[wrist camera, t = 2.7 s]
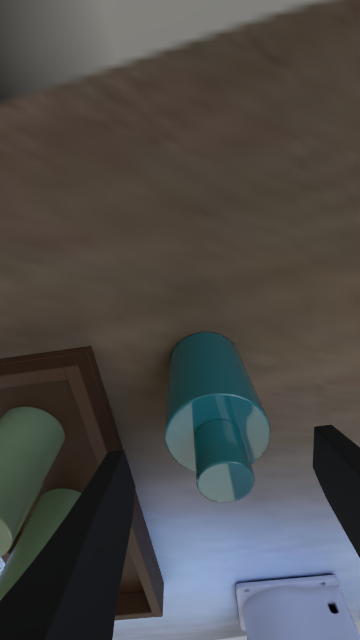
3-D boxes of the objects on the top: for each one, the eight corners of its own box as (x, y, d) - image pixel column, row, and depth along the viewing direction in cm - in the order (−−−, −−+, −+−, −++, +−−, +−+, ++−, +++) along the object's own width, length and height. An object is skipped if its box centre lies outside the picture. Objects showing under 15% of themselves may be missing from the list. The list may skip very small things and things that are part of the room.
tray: (91, 345, 16) (77, 365, 14) (163, 582, 25) (162, 616, 23) (-72, 368, 16) (-109, 391, 14) (57, 592, 26) (46, 626, 23)
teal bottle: (236, 326, 16) (290, 425, 8) (241, 388, 17) (290, 518, 10) (164, 337, 16) (150, 442, 8) (175, 396, 17) (173, 530, 10)
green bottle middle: (86, 485, 19) (26, 655, 12) (101, 523, 21) (57, 695, 13) (28, 491, 19) (-67, 662, 12) (48, 529, 21) (-25, 701, 13)
